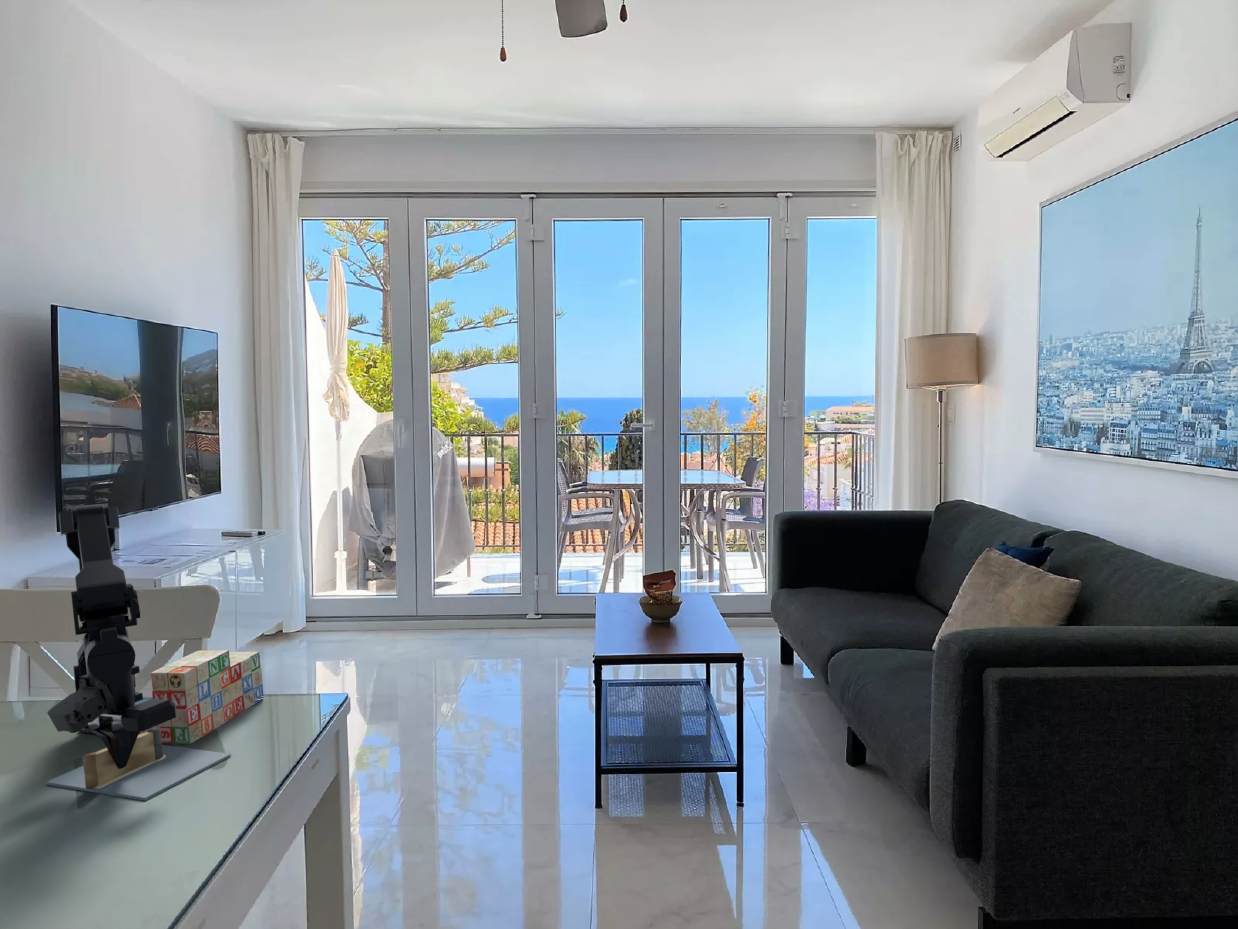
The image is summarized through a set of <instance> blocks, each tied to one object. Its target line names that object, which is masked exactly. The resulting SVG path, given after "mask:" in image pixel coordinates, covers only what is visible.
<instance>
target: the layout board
mask: <svg viewBox="0 0 1238 929" xmlns="http://www.w3.org/2000/svg"><path fill="white" fill-rule="evenodd" d="M162 751H163V757H162V758H160V759H156V760H153V761H151V762H149V763H146V764H144V765H142V766H140V767H137V768H135V769H133V770H130V771H128V772H126V773H124V774H121V775H119V776H117V777H114V778H112V779H110V780H108V781H105V782H103V783H101V784H99V785H97V786H95V787H92V788H86V786H85V776H84V765H82V766H79V767H77V768H75V769H73V770H70V771H68V772H66V773H63V774H61V775H59V776H57V777H54V778H52V779H49V780H48V781H45V784H46V786H47V785H48V786H52V787H58V788H65V789H71V790H78V791H83V792H89V793H96V794H101V795H109V796H113V797H115V796H116V797H119V798H127V799H133V800H139V801H144V802H145V801H148V800H150V799H151V798H153V797H156V796H157V795H159V794H161V793H163V792H165V791H168V790H169V789H171V788H173V787H174V786H177V785H178V784H181V783H182V782H185V781H187V780H188V779H190V778H192V777H194V776H196V775H197V774H200V773H202V772H203V771H205V770H208V769H209V768H211V767H213V766H215V765H217V764H220V763H221V762H222V761H225V760H226V759H229V758H230V757H232V754H231V753H227V752H219V751H211V750H203V749H198V748H197V749H195V748H189V747H182V746H181V747H180V746H173V745H164V744H162Z"/></svg>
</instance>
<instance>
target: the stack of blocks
mask: <svg viewBox="0 0 1238 929" xmlns="http://www.w3.org/2000/svg"><path fill="white" fill-rule="evenodd" d="M260 656H261V655H260V651H229V649H226V650H223V649H222V650H218V649H217V650H196V651H193V652H192V653H190V654H188V655H185V656H184V657H181V658H179V659H178V660H176V661H174V662H171V663H169V664H167V665H165V666H162V667H160V668H157V669H156V670H154V671H152V672H150V679H151V687H152V688H151V689H152V691H151V693H152V694H151V695H152V696H151V697H152V699H165V700H170V701H172V702H173V703H175V708H176V718H174V719H171V720H169V721H166V722H164V723H162V724H159V725H157V726H155V727H160V728H161V739H162V744H182V745H183V744H187V745H190V744H192V743H195V741H197V740H199V739H200V737H201V738H203V737H204V736H206V735H207V734H209V733H211V732H213V731H214V730H216V729H218V728H219V727H221V726H222V725H221V724H223V725H225V723H226V722H225V721H226V720H228V721H230V720H231V719H230V718H232V717H233V718H235V717H237V716H238V715H240V714H241V713H243V712H244V711H247V710H248V709H250V708H251V707H253V706H254V705H256V704H257V703H256V702H258V701H259V702H261V701H260V700H257V699H261V698H264V697H265V696H264V687H263V671H262V667H261V666H262V665H261V657H260ZM261 696H264V697H261ZM264 699H265V698H264ZM259 702H258V703H259ZM253 704H254V705H253ZM252 705H253V706H252ZM243 710H244V711H243ZM242 711H243V712H242ZM239 713H240V714H239ZM237 714H238V715H237ZM233 718H232V719H233ZM229 719H230V720H229ZM224 722H225V723H224ZM220 725H221V726H220ZM217 727H218V728H217ZM215 728H216V729H215ZM212 730H213V731H212ZM210 731H211V732H210ZM205 734H206V735H205Z"/></svg>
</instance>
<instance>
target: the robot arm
mask: <svg viewBox="0 0 1238 929" xmlns="http://www.w3.org/2000/svg"><path fill="white" fill-rule="evenodd" d="M58 521H59V531H60V536H65V542H66V547H67V548H68V549H69V551H70V552H71V553H72V554H73V555H74V556H75V557H76V558H77V559H78V567H79V572H78V573H77V574H76V575H75V591H70V598H71V606H72V607H71V608H72V617H73V626H74V633H75V636H79V635H83V637H82V644H81V646H80V647H79V649H78V651H77V652H76V659H77V665H73V668H72V669H73V677H74V690H75V692H73V693H71V694H69V695H68V696H66V697H65V698H63V699H62V700H60V701H59V702H58V703H56V705H54V706H53V707H51V708H50V709H49V710H47V716H48V717H49V718H50V721H51V722H52V724H53V726H54V727H55V729H56V730H57V732H61V733H62V732H68V733H70V734H75V733H86V734H94V735H97V736H98V737H99V738H100V739H101V741H102V742H103V744H104V745H105V748H107V749H108V751H109V753H110V755H111V757H112V759H113V760H114V762H115V764H116V766H117V768H118V769H121V768H124V767H126V765H127V763H128V760H129V757H130V755H131V752H132V749H133V747H134V744H135V742H136V739H137V737H138V735H139V733H140V731H145V730H147V729H150V728H152V727H156V726H157V725H159V724H162V723H164V722H166V721H169V720H171V719H174V718H176V708H175V703H173V702H172V701H170V700H165V699H153V698H151V699H148V700H146V701H142V700H144V696H143V692H136V686H137V685H136V675H137V674H140V673H141V670H140V665H135V661H136V651H135V649H134V647H133V644H132V643H131V640H130V637H129V629H127V628H129V627H134V626H137V625H138V620H137V619H141V609H140V603H139V599H138V591H137V590H136V589H135V588H134V585H133V584H132V583H127V580H126V575H125V571H124V569H122V568H121V567H119V566H117V565H115V563H114V559H113V555H112V548H113V546H114V544H115V542H116V532H115V530H116V531H117V530H120V527H121V526H120V518H119V508H118V506H109V504H108V502H107V503H99V504H87V505H78V506H67V507H66V510H65V511H60V512H58ZM128 614H130V618H129V615H128ZM80 622H81V626H80ZM141 701H142V702H141ZM138 702H140V703H138ZM136 703H137V704H136Z"/></svg>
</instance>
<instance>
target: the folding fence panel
mask: <svg viewBox="0 0 1238 929" xmlns="http://www.w3.org/2000/svg"><path fill="white" fill-rule="evenodd" d="M162 745H163V743H162V739H161V728H160V727H156V726H154V727H152V728H150V729H148V730H147V732H144V733H142V734H139V735H138V737H137V739H136V742H135V744H134V747H133V749H132V752H131V755H130V757H129V760H128V763H127V765H126V767H124V768H121V769H118V768H117V766H116V764H115V762H114V760H113V759H112V757H111V755H110V753H109V751H108V749H107V747H105V748H102V749H99V750H97V751H95V752H89V753H85V754H83V755H82V763H83V765H84V776H85V786H86V788H92V787H95V786H97V785H99V784H101V783H103V782H105V781H108V780H110V779H112V778H114V777H117V776H119V775H121V774H124V773H126V772H128V771H130V770H133V769H135V768H137V767H140V766H142V765H144V764H146V763H149V762H151V761H153V760H156V759H160V758H162V757H163V751H162ZM83 765H82V766H83Z"/></svg>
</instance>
